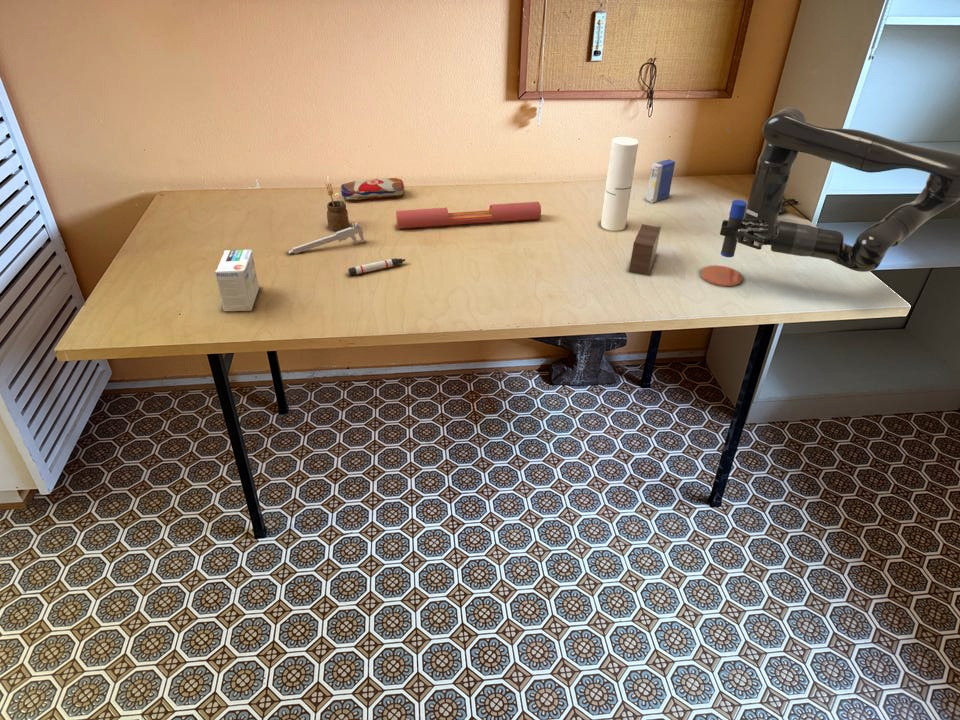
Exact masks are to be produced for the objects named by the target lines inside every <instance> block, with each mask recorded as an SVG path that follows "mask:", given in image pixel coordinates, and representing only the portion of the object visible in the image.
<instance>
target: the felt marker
mask: <svg viewBox="0 0 960 720" xmlns="http://www.w3.org/2000/svg"><path fill="white" fill-rule="evenodd" d="M747 203H748V202H746V201H745V200H741V199H733V200H732V202H731V206H730V210H729V213H728V214H729V217H728V219H727V220H728V225H727V227H732V228H737V230H738V229H740V228H741V224H742V220H743V217H744V214H745V210H746V206H747ZM737 244H738V240H737V239H735V238H734V237H728V236H724V238H723V242H722V247H721V250H720V256H722V257H724V258H733V257H734V256H735V252H736V249H737Z"/></svg>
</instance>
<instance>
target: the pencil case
mask: <svg viewBox="0 0 960 720" xmlns="http://www.w3.org/2000/svg"><path fill="white" fill-rule="evenodd" d="M405 189H406V188H405V183H404V181H403V180H402V179H401V178H398V177H383V178H382V177H381V178H367V179H360V180H355V181H350V182H347V183H342V184H341V185H340V189H339V192H340V194H341V197H343V199H345V200H348V201H355V200H356V201H357V200H359V201H360V200H367V199H378V198H389V197H400V196H403V195H404V194H405Z"/></svg>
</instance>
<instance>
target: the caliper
mask: <svg viewBox="0 0 960 720" xmlns="http://www.w3.org/2000/svg"><path fill="white" fill-rule="evenodd" d="M356 234H358V236H359V239H360V241H361V243H364V241H365V239H364V238H365V237H364V231H363V229H362V226H361V224H358V222H357V221H355V224H354V223H353V222H351V226H348V228H346V229H344V230H341V231H335V233H334V234H331V235H327V236H325V237H321V238H318V239H315V240H312V241H309V242H306V243H303V244H300V245H296V246H294V247H292V249H291V250H288V251H287V252H288V255H291V254H294V255H296V254H299V253H302V252H305V251H308V250H311V249H315V248H318V247H320V246H323V245H327V244H330V243H333V242H335V241H338V242H339V243H340V242H342V241H347V239H349V238H351V240H352V241H353V242H354V243H355V244H356V245H358V240H357V237H356Z"/></svg>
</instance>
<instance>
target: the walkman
mask: <svg viewBox="0 0 960 720" xmlns="http://www.w3.org/2000/svg"><path fill="white" fill-rule="evenodd" d="M675 166H676V161H675V160H673V159H670V158H665V159H664V160H661V161H658V162H657V161H656V162H654V163H652V164H651V169H650V175H649V179H648V180H649V181H648V186H647V187H648V188H647V193H646V198H645V200H646V201H647V202H649V203H651V204H653V203H657V202H659V201H662V200H664V199H668V198H670V191H671V186H672V181H673V176H674V170H675Z"/></svg>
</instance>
